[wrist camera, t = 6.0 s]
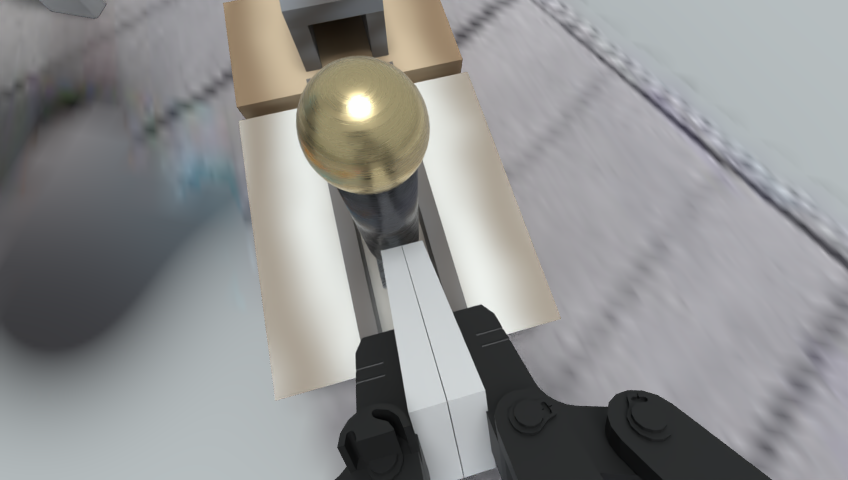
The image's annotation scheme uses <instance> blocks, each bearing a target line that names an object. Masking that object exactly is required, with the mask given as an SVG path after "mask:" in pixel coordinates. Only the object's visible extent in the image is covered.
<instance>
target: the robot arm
mask: <svg viewBox="0 0 848 480" xmlns="http://www.w3.org/2000/svg"><path fill="white" fill-rule="evenodd" d="M402 248H403V250H402ZM403 252H404V253H403ZM381 255H382V261H383V267H384V273H385V279H386V285H387V290H388V296H389V302H390V308H391V314H392V320H393V326H394V329H393V330H389V331H385V332H382V333H378V334H374V335H371V336H367V337H363V338H362V339H361V342H360V344H359V346H358V348H357V351H356V353H355V360H356V384H357V385H356V406H357V413H356V414H355V415H354V416H352V417H351V418H350V419H349V420H348V421H347V423H346V425H345V426H344V428H343V430H342V431H341V433H340V437H339V442H338V447H337V448H338V450H339V452H340V454H341V456H342V458H343V460H344V462H345V464H346V466H347V467H346V468H345V470H344V471H343V472H342V473H341V474H340V476H339V477H337V478H336V479H335V480H459V479H462V478H464V477H468V476H471V475H474V474H478V473H481V472H484V471H487V470H490V469H493V468H496V465H495V462H496V464H497V467H498V470H499V473H500V475H501V478H502V480H772V479H770V478H769V477H768V476H766V475H765V474H764V473H762V472H761V471H760V470H759V469H757V468H756V467H755V466H753V465H752V464H751V463H749V462H748V461H747V460H745V459H744V458H743V457H741V456H740V455H739V454H738V453H736V452H735V451H734V450H732V449H731V448H730V447H728V446H727V445H726V444H724V443H723V442H722V441H720V440H719V439H718V438H717V437H715V436H714V435H713V434H711V433H710V432H709V431H707V430H706V429H705V428H703V427H702V426H701V425H699V424H698V423H697V422H695V421H694V420H693V419H692V418H690V417H689V416H688V415H686V414H685V413H684V412H682V411H681V410H680V409H678V408H677V407H676V406H674V405H673V404H672V403H670V402H668V401H667V400H665V399H663V398H661V397H660V396H658V395H655V394H652V393H648V392H645V391H637V390H627V391H624V392H621V393H619V394H616V395H615V396H614V397H613V398H612V400H611V401H610V402H609V405H608V407H596V406H574V405H567V404H564V403H561V402H558V401H556V400H554V399H552V398H551V397H549V396H547V395H546V394H545V393H544V392H543V391H541V390H540V388H539V387H538V386H537V385H536V383H535V382H534V380H533V378H532V377H531V375H530V373H529V372H528V370H527V368H526V366H525V365H524V363H523V361H522V360H521V358H520V356H519V355H518V353H517V351H516V349H515V348H514V346H513V344H512V343H511V341H510V340H509V338H508V336H507V334H506V332H505V331H504V329H503V328H502V326H501V324H500V322H499V320H498V319H497V317H496V315H495V314H494V313H493V312H492V311H490V310H489V309H487V308H486V307H484V306H483V305H482V304H480V305H477V306H473V307H469V308H466V309H462V310H458V311H455V312H452V310H451V308H450V305H449V303H448V300H447V298H446V296H445V293H444V291H443V288H442V286H441V284H440V281H439V279H438V277H437V274H436V272H435V269H434V267H433V265H432V262H431V260H430V257H429V255H428V253H427V250H426V248H425V246H424V243H423V241H418V242H414V243H410V244H406V245H402V246H398V247H394V248H390V249H386V250H382V251H381ZM461 467H462V468H461ZM462 470H463V472H462ZM463 474H464V477H463Z"/></svg>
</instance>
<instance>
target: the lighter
mask: <svg viewBox="0 0 848 480" xmlns="http://www.w3.org/2000/svg"><path fill="white" fill-rule="evenodd" d="M39 1H41V2H42V3H43V4H44V5H45V6H46V7H47V8H48V9H49V10H50V11H53V12H59V13H65V14H71V15H77V16H83V17H89V18H97V17H99V15H100V13H101V12H102V10H103V9H104V7H105V5H106V3H105V2H104V1H103V0H39Z"/></svg>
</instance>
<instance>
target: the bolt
mask: <svg viewBox="0 0 848 480" xmlns="http://www.w3.org/2000/svg"><path fill="white" fill-rule="evenodd" d="M296 130H297V136H298V140H299V144H300V147H301V149H302V151H303V153H304V156H305V158H306V159H307V161H308V162H309V164H310V165H311V167H312V168H313V169H314V170H315V171H316V172H317V174H318V175H320V176H321V177H322V178H323V179H324V180H326V181H327V182H328V183H330V184H331V185H333V186H335V187H336V188H337V190H338V191H339V193H340V195H341V197H342V199H343V201H344V203H345V205H346V207H347V209H348V210H349V212H350V214H351V216H352V218H353V220H354V222H355V224H356V226H357V228H358V229H359V231H360V233H361V235H362V237H363V239H364V241H365V243H366V245H367V247H368V248H369V250H370V252H371V253H372V254H373V256H375V257H376V260H377V264H378V268H379V273H380V277H381V281H382V285H383V288H384V289H387V285H386V279H385V273H384V267H383V261H382V255H381V251H382V250H386V249H390V248H394V247H398V246H402V245H406V244H410V243H414V242H418V241H419V217H418V167H419V165H420V164H421V162H422V160H423V158H424V155H425V153H426V150H427V147H428V142H429V136H430V123H429V115H428V111H427V107H426V104H425V102H424V99H423V97H422V95H421V93H420V91H419V90H418V88H417V86H416V85H415V84H414V83H413V82H412V80H411V79H410V78H409V77H408V76H407V75H406V74H405V73H404V72H402V71H401V70H400V69H398V68H397V67H396V66H394V65H392V64H390V63H389V62H386V61H384V60H381V59H378V58H374V57H369V56H350V57H345V58H341V59H338V60H335V61H333V62H331V63H329V64H327V65H326V66H324V67H323V68H321V69H320V70H319V71H318V72H317V73H316V74H315V75H314V76H313V77H312V78H311V79H310V80H309V82H308V83H307V85H306V87H305V88H304V90H303V92H302V94H301V97H300V99H299V103H298V107H297V112H296ZM402 250H403V248H402ZM403 253H404V252H403Z"/></svg>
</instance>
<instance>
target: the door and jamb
mask: <svg viewBox="0 0 848 480" xmlns="http://www.w3.org/2000/svg"><path fill="white" fill-rule="evenodd" d="M223 6H224V13H225V21H226V28H227V36H228V44H229V51H230V59H231V66H232V74H233V82H234V89H235V97H236V105H237V108H238V109H239V111H240V112H241V113H242V114H243V116H244V117H245V118H246V119H245V120H241V121H239V127H240V135H241V143H242V150H243V158H244V166H245V173H246V181H247V188H248V196H249V204H250V211H251V219H252V227H253V234H254V242H255V249H256V257H257V265H258V272H259V280H260V288H261V295H262V303H263V310H264V318H265V326H266V333H267V341H268V348H269V356H270V364H271V371H272V379H273V387H274V394H275V400H276V401H277V400H280V399H283V398H287V397H290V396H294V395H297V394H301V393H304V392H308V391H311V390H315V389H318V388H322V387H325V386H329V385H332V384H336V383H339V382H343V381H346V380H350V379H353V378H356V360H355V353H356V351H357V348H358V346H359V344H360V342H361V339H362V338H363V337H367V336H371V335H374V334H378V333H382V332H385V331H389V330H393V329H394V326H393V320H392V314H391V308H390V302H389V296H388V290H387V289H384V288H383V285H382V281H381V277H380V273H379V268H378V264H377V260H376V257H375V256H373V254H372V253H371V252H370V250H369V248H368V247H367V245H366V243H365V241H364V239H363V237H362V235H361V233H360V231H359V229H358V228H357V226H356V224H355V222H354V220H353V218H352V216H351V214H350V212H349V210H348V209H347V207H346V205H345V203H344V201H343V199H342V197H341V195H340V193H339V191H338V190H337V188H336V187H335V186H333V185H331V184H330V183H328V182H327V181H326V180H324V179H323V178H322V177H321V176H320V175H318V174H317V172H316V171H315V170H314V169H313V168H312V167H311V165H310V164H309V162H308V161H307V159H306V158H305V156H304V153H303V151H302V149H301V147H300V144H299V140H298V136H297V130H296V112H297V107H298V103H299V99H300V97H301V94H302V92H303V90H304V88H305V87H306V85H307V83H308V82H309V80H310V79H311V78H312V77H313V76H314V75H315V74H316V73H317V72H318V71H319V70H320V69H321V68H323V67H324V66H326V65H327V64H329V63H331V62H333V61H335V60H338V59H341V58H345V57H350V56H369V57H374V58H378V59H381V60H384V61H386V62H389V63H390V64H392V65H394V66H396V67H397V68H398V69H400V70H401V71H402V72H404V73H405V74H406V75H407V76H408V77H409V78H410V79H411V80H412V82H413V83H414V84H415V85H416V86H417V88H418V90H419V91H420V93H421V95H422V97H423V99H424V102H425V104H426V107H427V111H428V115H429V123H430V136H429V142H428V147H427V150H426V153H425V155H424V158H423V160H422V162H421V164H420V165H419V167H418V217H419V241H423V243H424V246H425V248H426V250H427V253H428V255H429V257H430V260H431V262H432V265H433V267H434V269H435V272H436V274H437V277H438V279H439V281H440V284H441V286H442V288H443V291H444V293H445V296H446V298H447V300H448V303H449V305H450V308H451V310H452V312H455V311H458V310H462V309H466V308H469V307H473V306H477V305H480V304H482V305H483V306H484V307H486V308H487V309H489V310H490V311H492V312H493V313H494V314H495V315H496V317H497V319H498V320H499V322H500V324H501V326H502V328H503V329H504V331H505V332H506V334H510V333H514V332H517V331H521V330H524V329H528V328H531V327H535V326H538V325H542V324H545V323H549V322H552V321H556V320H559V319H561V317H560V314H559V312H558V309H557V307H556V304H555V301H554V299H553V296H552V293H551V291H550V288H549V286H548V283H547V280H546V278H545V275H544V272H543V270H542V267H541V264H540V262H539V259H538V257H537V254H536V251H535V249H534V246H533V243H532V241H531V238H530V236H529V233H528V230H527V228H526V225H525V222H524V220H523V217H522V214H521V212H520V209H519V207H518V204H517V201H516V199H515V196H514V193H513V191H512V188H511V186H510V183H509V180H508V178H507V175H506V172H505V170H504V167H503V164H502V162H501V159H500V157H499V154H498V151H497V149H496V146H495V143H494V141H493V138H492V136H491V133H490V130H489V128H488V125H487V122H486V120H485V117H484V114H483V112H482V109H481V107H480V104H479V101H478V99H477V96H476V93H475V91H474V88H473V86H472V83H471V80H470V78H469V75H468V72H464V73H461V67H462V60H463V59H462V57H461V54H460V51H459V49H458V46H457V43H456V41H455V38H454V36H453V33H452V30H451V28H450V25H449V22H448V20H447V17H446V14H445V12H444V9H443V7H442V4H441V1H440V0H237V1H231V2H226V3H223Z"/></svg>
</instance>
